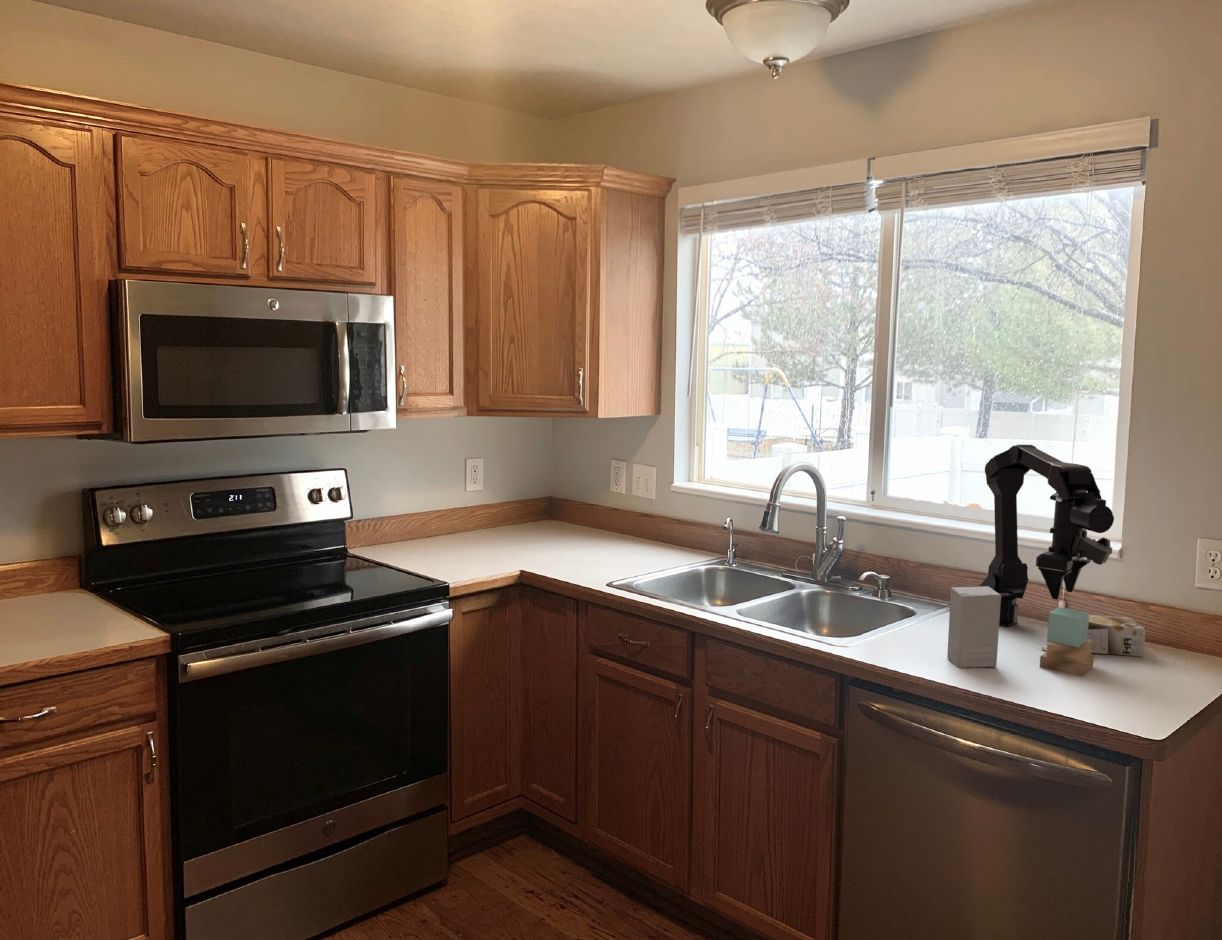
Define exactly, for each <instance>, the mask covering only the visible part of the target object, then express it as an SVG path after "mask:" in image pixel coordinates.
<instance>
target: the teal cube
mask: <svg viewBox="0 0 1222 940" xmlns="http://www.w3.org/2000/svg"><path fill="white" fill-rule="evenodd" d="M1089 615H1090V612H1086V611H1081V610H1077V609H1071V608H1068V607H1067V608H1065V607H1061V606H1058V607H1056V608H1054V609H1053V610H1050V612H1048V620H1047V621H1048V622H1047V635H1046V641H1047V642H1048V641H1049V642H1054V643H1059V644H1064V645H1068V646H1073V647H1080V646H1081V645H1082V644H1084V643H1085V642H1086V641H1087V635H1088V624H1089Z"/></svg>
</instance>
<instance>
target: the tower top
mask: <svg viewBox="0 0 1222 940" xmlns="http://www.w3.org/2000/svg"><path fill="white" fill-rule="evenodd" d="M1091 651H1092V650H1091V640H1089V639H1087V641H1086V642H1085V643H1084V644H1082V645H1081V646H1080V647H1073V646H1068V645H1064V644H1059V643H1054V642H1049V641H1047V646H1046V652H1047V656H1046V659H1053V660H1060V661H1067V662H1074V663H1081V664H1087V665H1090V662H1091V656H1092V653H1091Z"/></svg>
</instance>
